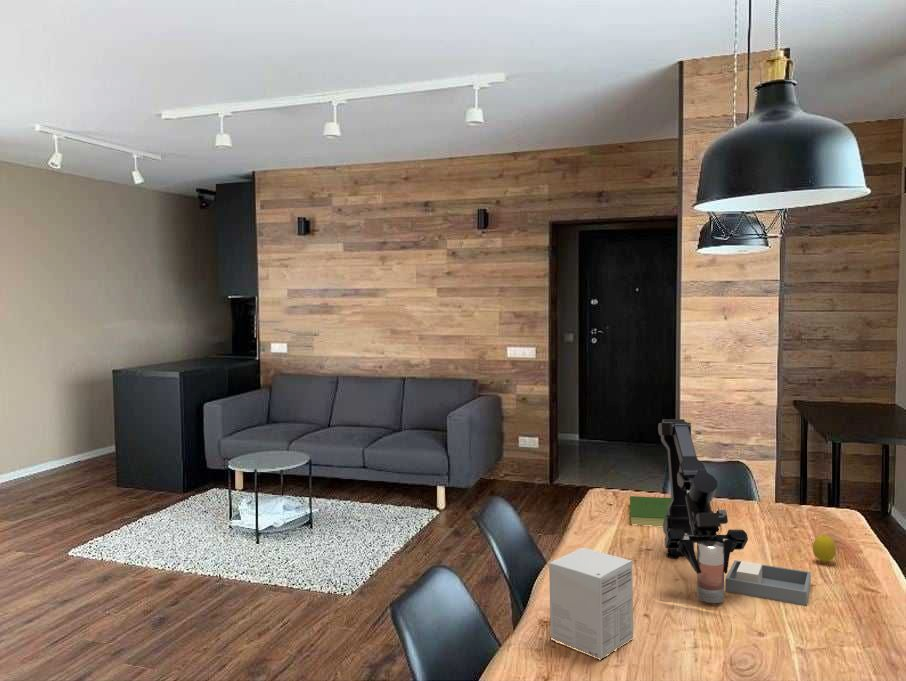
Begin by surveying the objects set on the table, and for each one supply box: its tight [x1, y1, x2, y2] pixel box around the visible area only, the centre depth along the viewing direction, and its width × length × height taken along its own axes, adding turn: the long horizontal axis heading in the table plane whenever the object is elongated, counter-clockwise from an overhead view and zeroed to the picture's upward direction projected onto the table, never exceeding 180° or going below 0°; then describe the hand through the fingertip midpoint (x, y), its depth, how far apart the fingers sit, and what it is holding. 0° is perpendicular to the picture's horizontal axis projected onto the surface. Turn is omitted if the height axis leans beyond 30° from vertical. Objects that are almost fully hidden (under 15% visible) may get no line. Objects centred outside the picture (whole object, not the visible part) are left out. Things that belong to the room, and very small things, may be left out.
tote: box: [724, 560, 812, 606], centre depth 174 cm, size 18×14×4 cm
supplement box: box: [548, 547, 634, 659], centre depth 151 cm, size 13×13×18 cm
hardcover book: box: [629, 495, 671, 526], centre depth 238 cm, size 25×19×4 cm
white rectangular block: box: [737, 560, 763, 583], centre depth 177 cm, size 5×8×4 cm, turn 149°
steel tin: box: [696, 540, 725, 604], centre depth 167 cm, size 6×6×13 cm
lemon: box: [812, 534, 837, 564], centre depth 192 cm, size 6×6×8 cm
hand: (711, 572), depth 165 cm, fingers closed on steel tin, 6 cm apart
